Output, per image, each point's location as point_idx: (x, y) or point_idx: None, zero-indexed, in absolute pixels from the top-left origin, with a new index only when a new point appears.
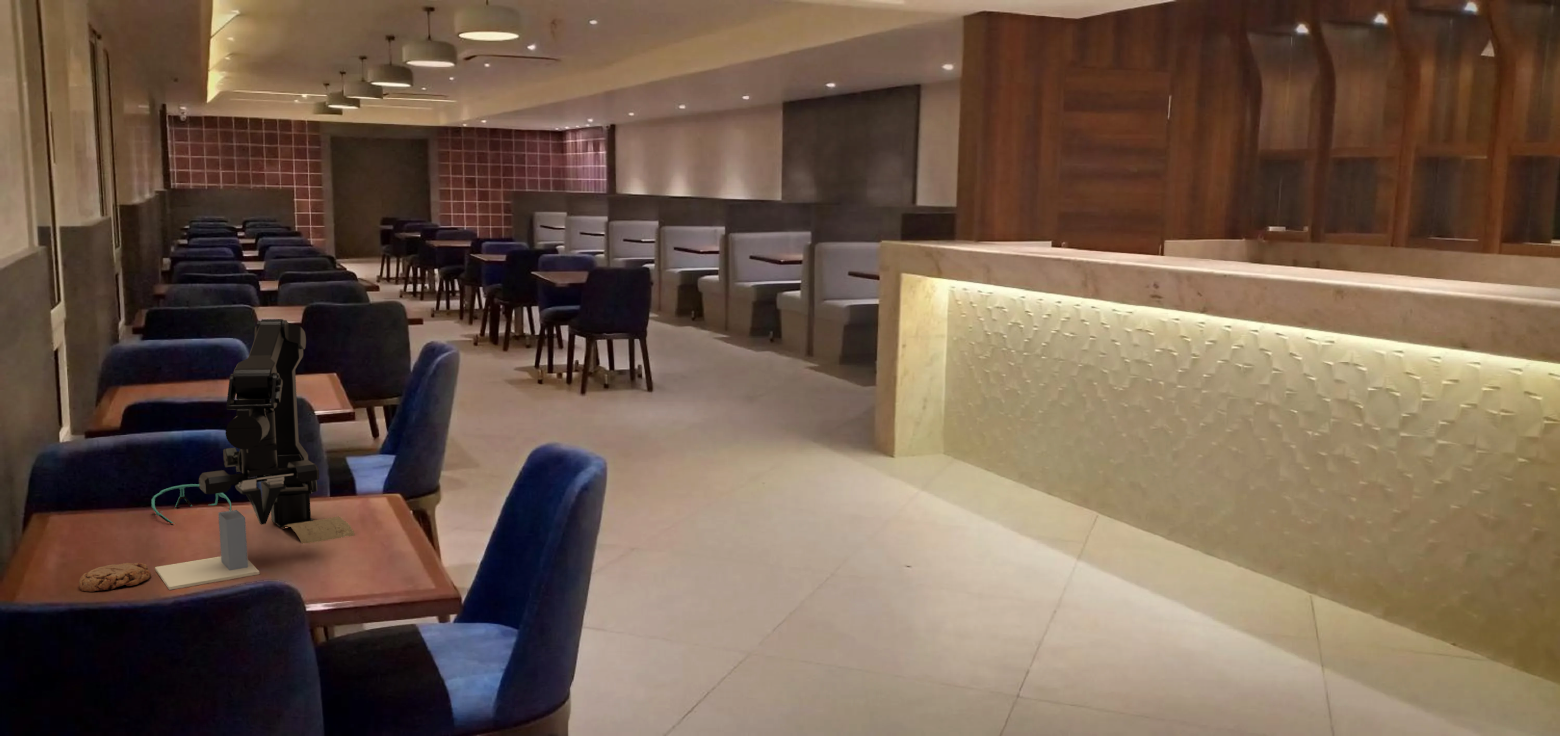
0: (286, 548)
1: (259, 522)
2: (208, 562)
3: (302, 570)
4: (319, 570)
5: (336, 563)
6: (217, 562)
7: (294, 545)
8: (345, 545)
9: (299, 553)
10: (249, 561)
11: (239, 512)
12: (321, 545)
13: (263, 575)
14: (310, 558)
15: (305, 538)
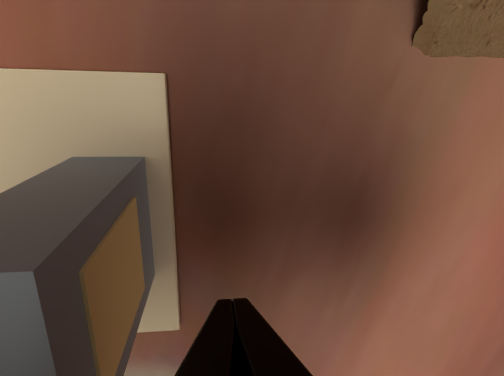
0: (340, 81)
1: (216, 304)
2: (20, 136)
3: (292, 344)
4: (327, 363)
5: (387, 330)
6: (57, 156)
7: (379, 56)
8: (498, 173)
9: (350, 177)
10: (171, 212)
11: (53, 370)
12: (447, 123)
13: (188, 337)
14: (354, 251)
15: (441, 29)
